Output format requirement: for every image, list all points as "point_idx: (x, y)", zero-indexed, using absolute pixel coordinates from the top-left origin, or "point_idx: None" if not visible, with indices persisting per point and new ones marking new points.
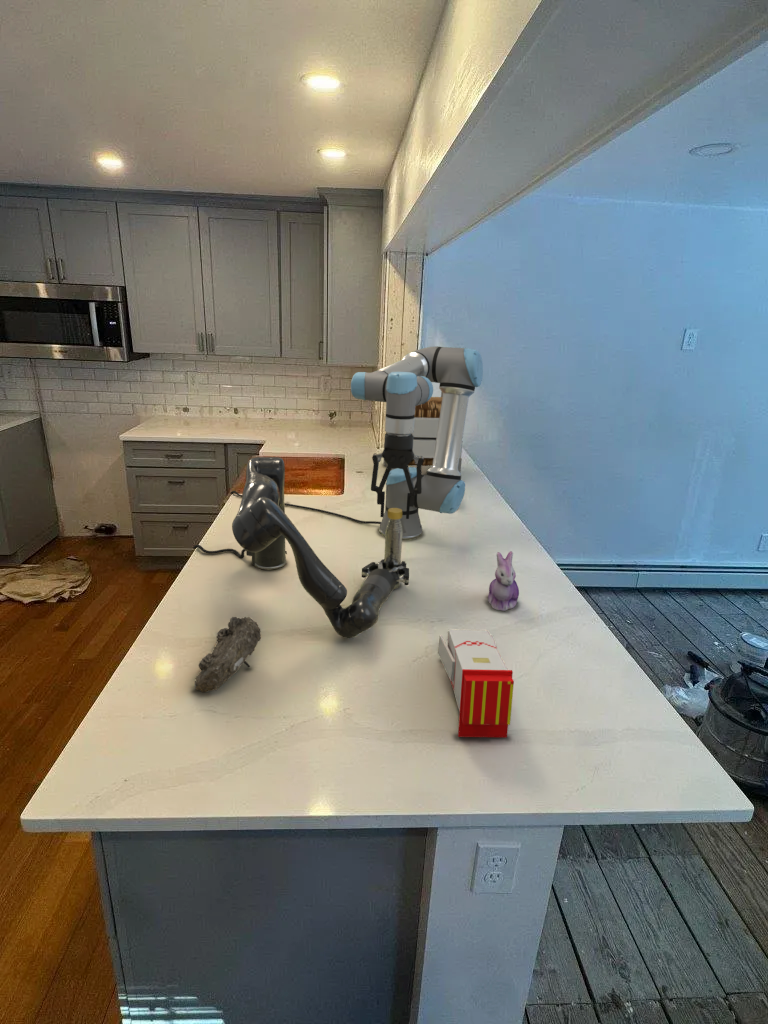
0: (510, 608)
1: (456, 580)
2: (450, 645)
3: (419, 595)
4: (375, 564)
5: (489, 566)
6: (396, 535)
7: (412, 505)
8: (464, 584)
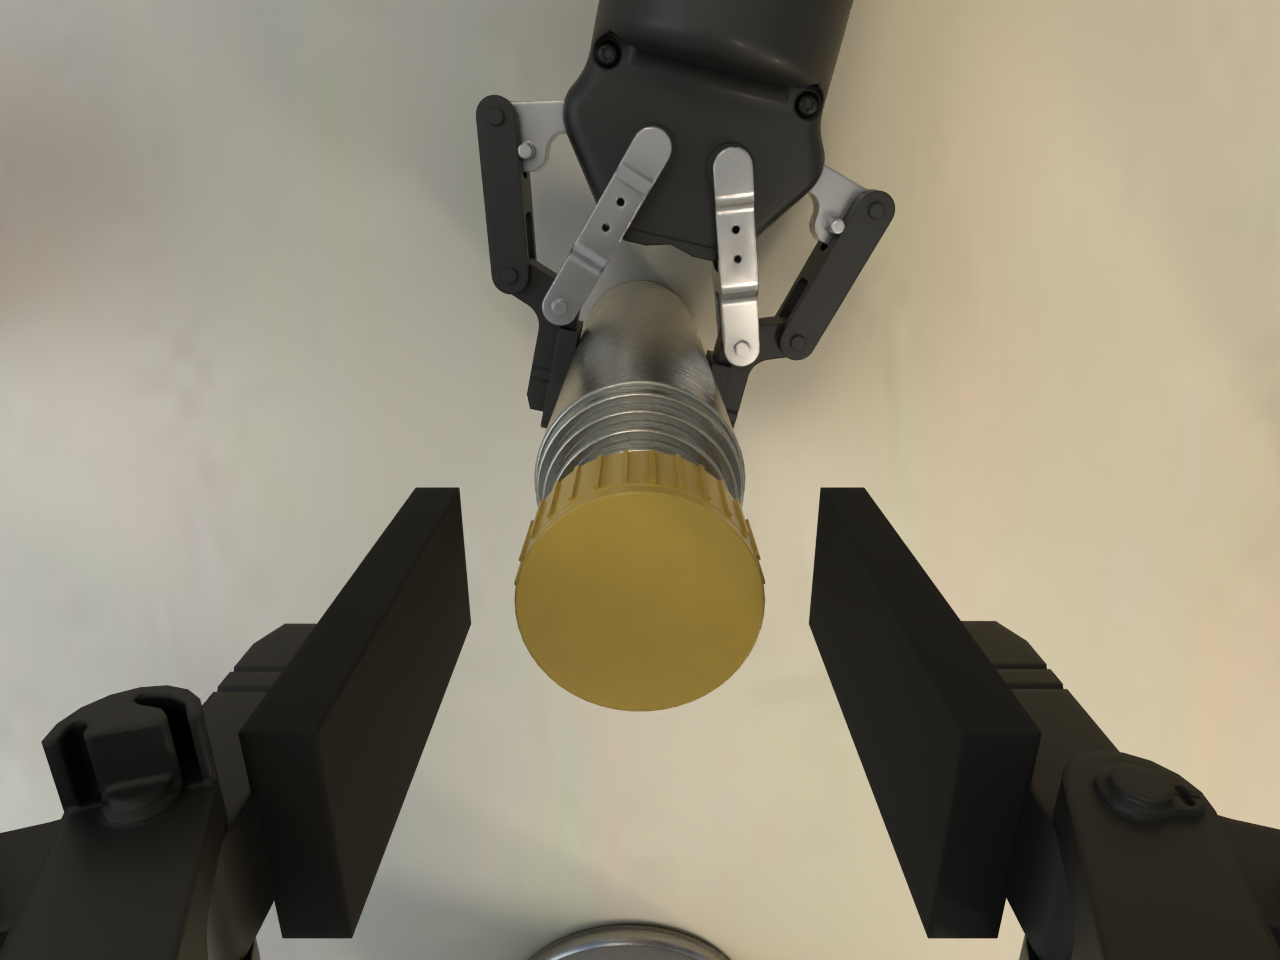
0: None
1: (223, 475)
2: None
3: (438, 220)
4: (776, 344)
5: (52, 688)
6: (604, 376)
7: (287, 635)
8: (164, 428)
